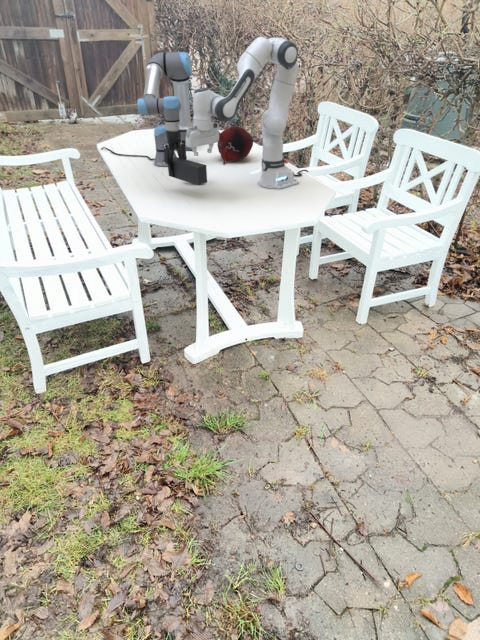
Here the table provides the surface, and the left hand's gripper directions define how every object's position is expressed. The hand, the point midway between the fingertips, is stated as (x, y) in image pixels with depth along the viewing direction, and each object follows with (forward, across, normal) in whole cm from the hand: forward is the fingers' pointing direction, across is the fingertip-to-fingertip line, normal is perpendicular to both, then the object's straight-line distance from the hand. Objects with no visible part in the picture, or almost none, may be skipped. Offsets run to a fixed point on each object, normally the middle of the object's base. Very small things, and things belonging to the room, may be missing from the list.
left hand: (177, 175), depth 244 cm
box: (+1, 0, -8) cm, 9 cm away
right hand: (-13, +3, -18) cm, 23 cm away
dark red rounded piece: (+9, +68, +21) cm, 72 cm away
